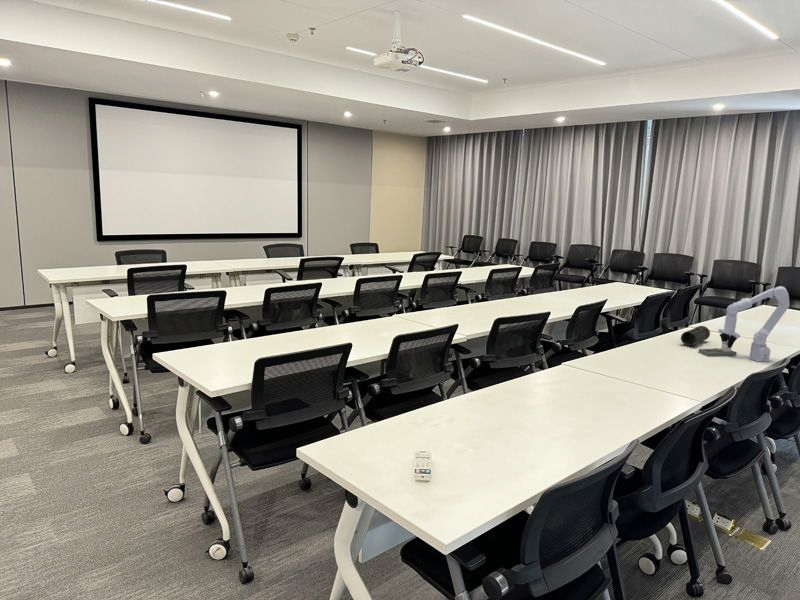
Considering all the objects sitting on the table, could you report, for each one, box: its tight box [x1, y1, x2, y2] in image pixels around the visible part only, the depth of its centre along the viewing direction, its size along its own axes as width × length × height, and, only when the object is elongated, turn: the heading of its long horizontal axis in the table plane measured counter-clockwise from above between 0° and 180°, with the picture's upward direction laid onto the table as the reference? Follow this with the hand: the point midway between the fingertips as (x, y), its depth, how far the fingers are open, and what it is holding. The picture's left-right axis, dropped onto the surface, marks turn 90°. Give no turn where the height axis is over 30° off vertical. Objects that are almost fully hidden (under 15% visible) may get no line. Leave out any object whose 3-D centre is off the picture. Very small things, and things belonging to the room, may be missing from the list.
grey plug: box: [720, 340, 732, 352], centre depth 322 cm, size 4×4×6 cm
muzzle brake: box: [680, 325, 711, 348], centre depth 346 cm, size 10×28×10 cm, turn 134°
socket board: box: [697, 348, 738, 357], centre depth 321 cm, size 8×19×3 cm, turn 100°
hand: (726, 346), depth 322 cm, fingers closed on grey plug, 4 cm apart
